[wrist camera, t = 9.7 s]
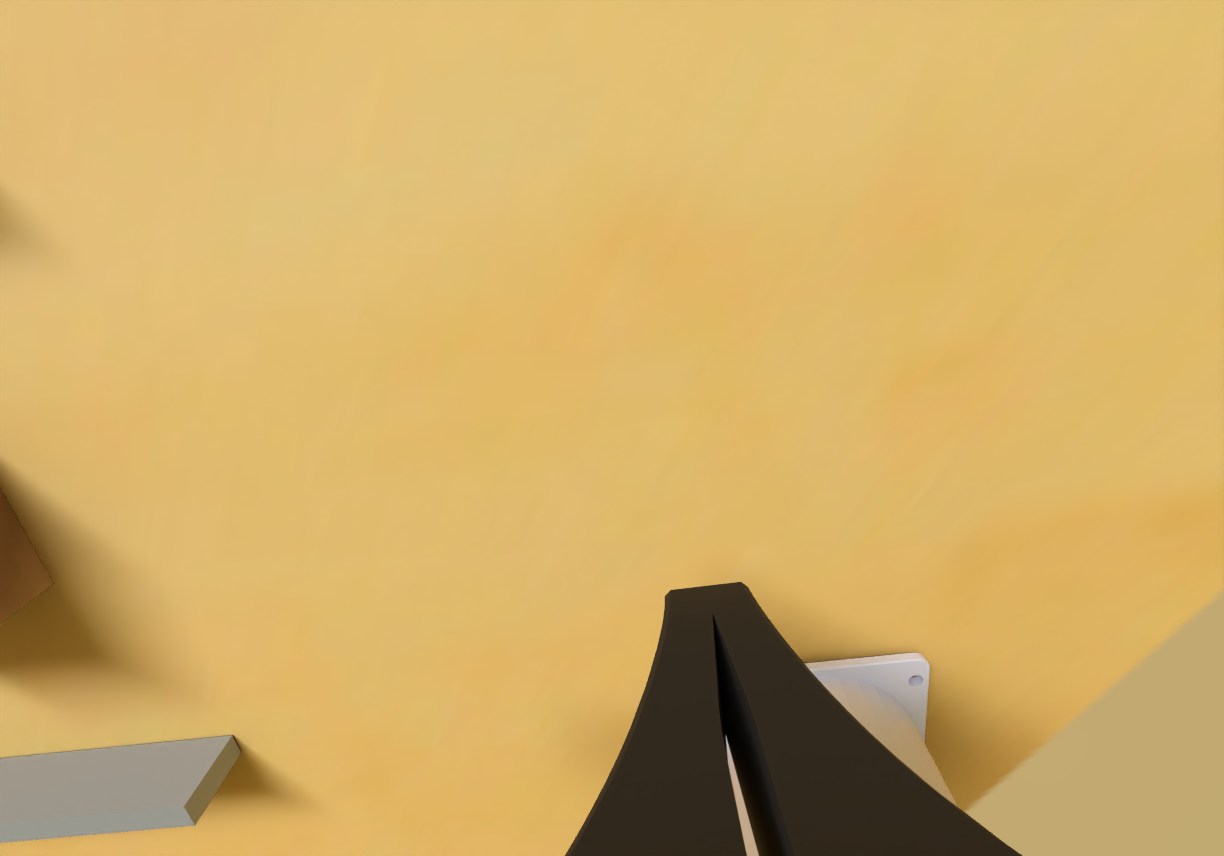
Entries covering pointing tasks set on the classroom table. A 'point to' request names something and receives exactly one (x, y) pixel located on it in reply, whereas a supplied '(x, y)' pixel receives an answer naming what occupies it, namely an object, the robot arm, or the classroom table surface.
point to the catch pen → (111, 788)
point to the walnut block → (18, 564)
